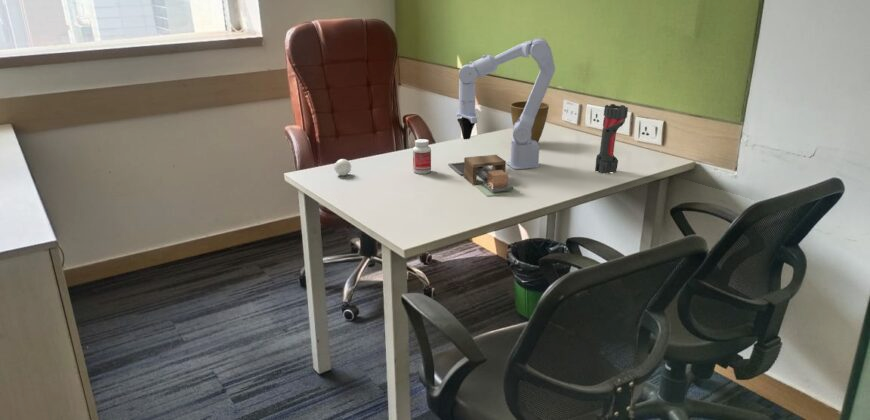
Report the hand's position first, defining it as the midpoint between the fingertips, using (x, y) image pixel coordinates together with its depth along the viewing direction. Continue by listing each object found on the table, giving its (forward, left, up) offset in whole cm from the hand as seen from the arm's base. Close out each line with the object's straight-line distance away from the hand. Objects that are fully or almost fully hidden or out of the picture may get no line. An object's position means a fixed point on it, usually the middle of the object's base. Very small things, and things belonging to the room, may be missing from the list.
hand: (466, 138), depth 228 cm
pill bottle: (+18, +3, -10) cm, 20 cm away
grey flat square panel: (+1, +6, -9) cm, 11 cm away
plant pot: (-32, -17, -10) cm, 38 cm away
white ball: (+45, -3, -10) cm, 46 cm away
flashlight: (-43, +24, -10) cm, 51 cm away
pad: (+1, +29, -9) cm, 30 cm away
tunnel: (+1, +18, -9) cm, 20 cm away
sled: (0, +20, -8) cm, 22 cm away
